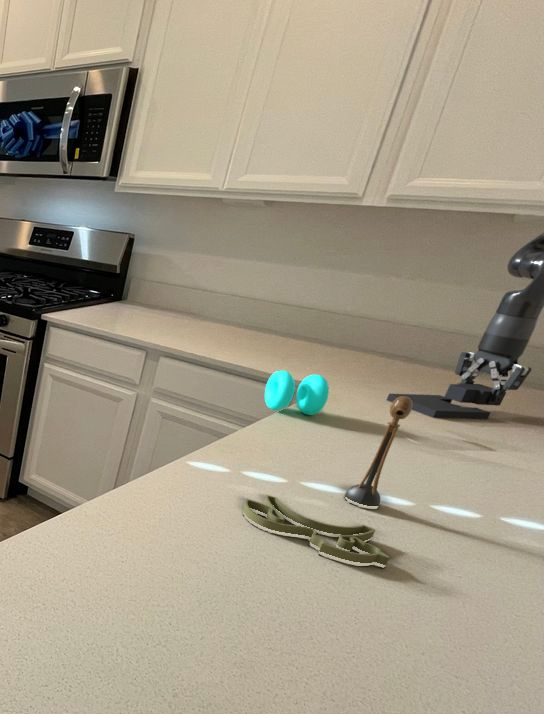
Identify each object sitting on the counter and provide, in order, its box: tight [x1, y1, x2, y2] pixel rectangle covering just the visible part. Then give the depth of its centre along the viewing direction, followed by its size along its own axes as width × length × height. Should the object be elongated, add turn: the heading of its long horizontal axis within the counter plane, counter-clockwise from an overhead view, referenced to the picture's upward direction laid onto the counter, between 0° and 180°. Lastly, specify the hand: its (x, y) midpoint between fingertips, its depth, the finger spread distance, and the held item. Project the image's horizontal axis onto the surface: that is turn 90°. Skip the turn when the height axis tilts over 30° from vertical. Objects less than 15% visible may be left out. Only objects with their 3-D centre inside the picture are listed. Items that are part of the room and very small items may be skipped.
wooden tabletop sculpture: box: [344, 396, 413, 507], centre depth 98 cm, size 6×5×20 cm
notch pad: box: [386, 393, 491, 420], centre depth 147 cm, size 14×12×4 cm
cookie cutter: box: [243, 494, 390, 566], centre depth 91 cm, size 18×12×2 cm, turn 46°
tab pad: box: [443, 382, 507, 406], centre depth 146 cm, size 9×6×4 cm, turn 92°
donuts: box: [264, 369, 330, 416], centre depth 144 cm, size 10×10×10 cm
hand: (476, 398), depth 146 cm, fingers closed on tab pad, 6 cm apart
